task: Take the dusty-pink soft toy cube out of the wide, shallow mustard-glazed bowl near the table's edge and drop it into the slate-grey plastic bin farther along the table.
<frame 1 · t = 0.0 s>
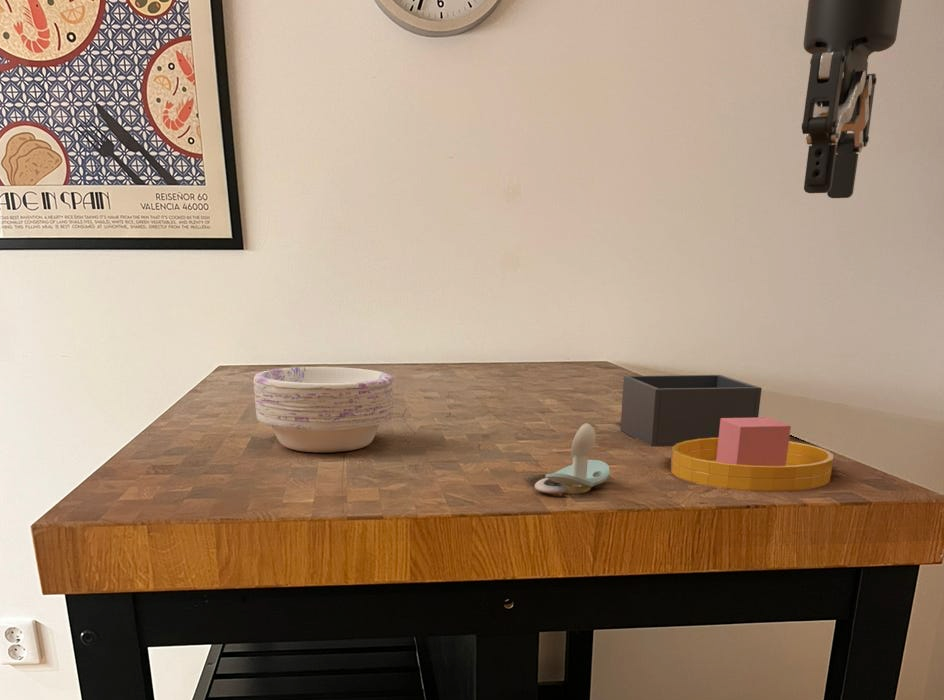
hand: (828, 195, 87), 25 cm above the table, tool pointing down, fingers open, 8 cm apart
grey bin: (684, 438, 114), on the table
toy cube: (749, 473, 94), resting on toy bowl
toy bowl: (748, 476, 94), on the table
pacifier: (568, 492, 88), on the table
paper bowls: (327, 447, 108), on the table
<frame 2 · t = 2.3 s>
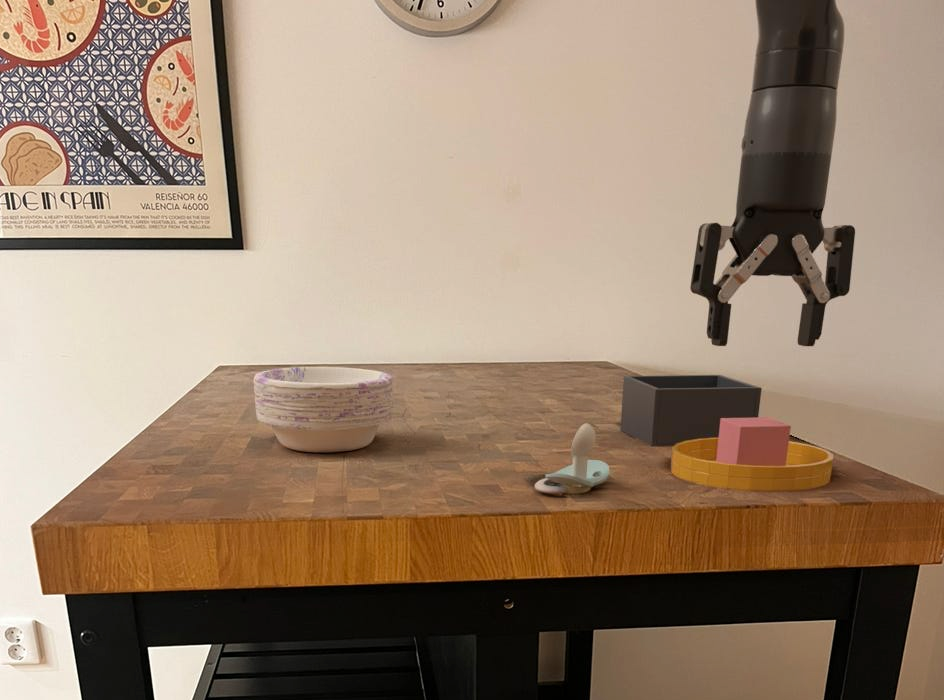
hand: (762, 345, 90), 12 cm above the table, tool pointing down, fingers open, 8 cm apart
nothing on the table moved.
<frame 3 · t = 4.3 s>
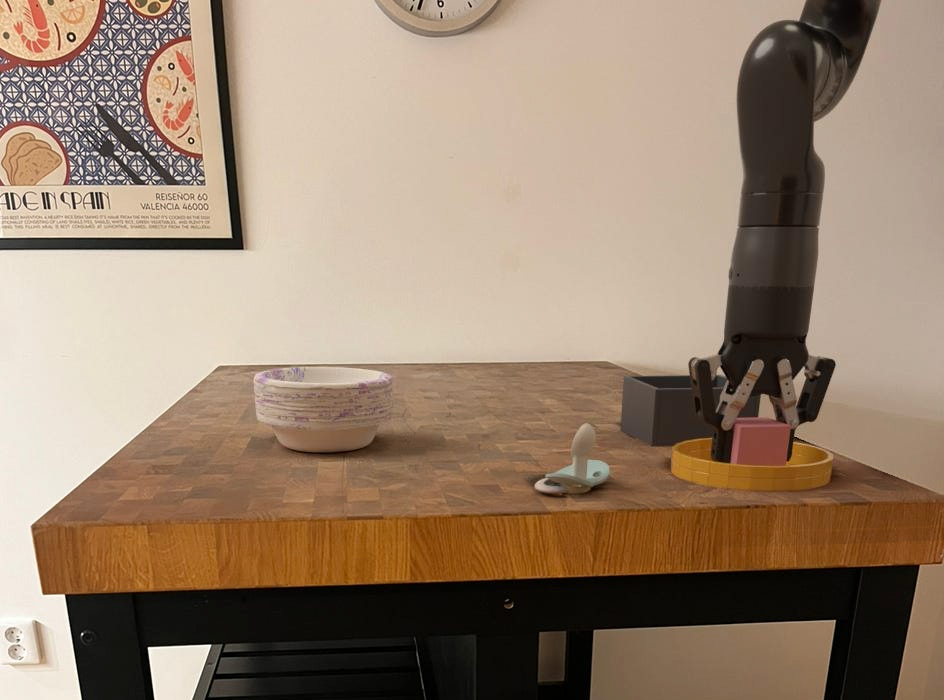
hand: (750, 466, 94), 1 cm above the table, tool pointing down, fingers closed on toy cube, 5 cm apart
toy cube: (749, 473, 94), resting on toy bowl, touching gripper
everything else where it was.
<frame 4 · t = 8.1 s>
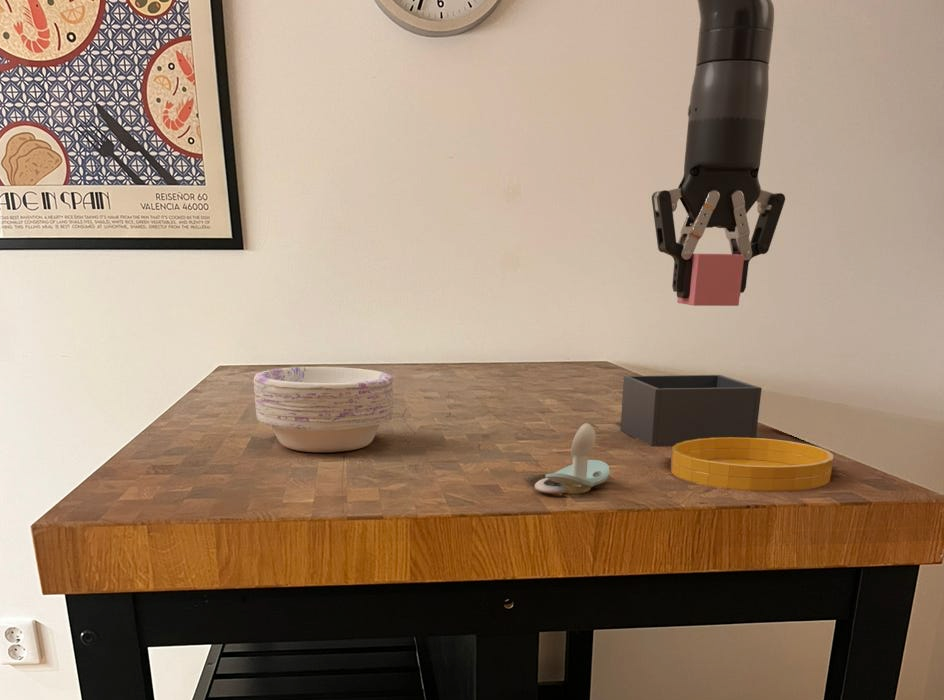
hand: (708, 297, 103), 16 cm above the table, tool pointing down, fingers closed on toy cube, 5 cm apart
toy cube: (707, 304, 103), point 15 cm above the table, touching gripper
everything else where it was.
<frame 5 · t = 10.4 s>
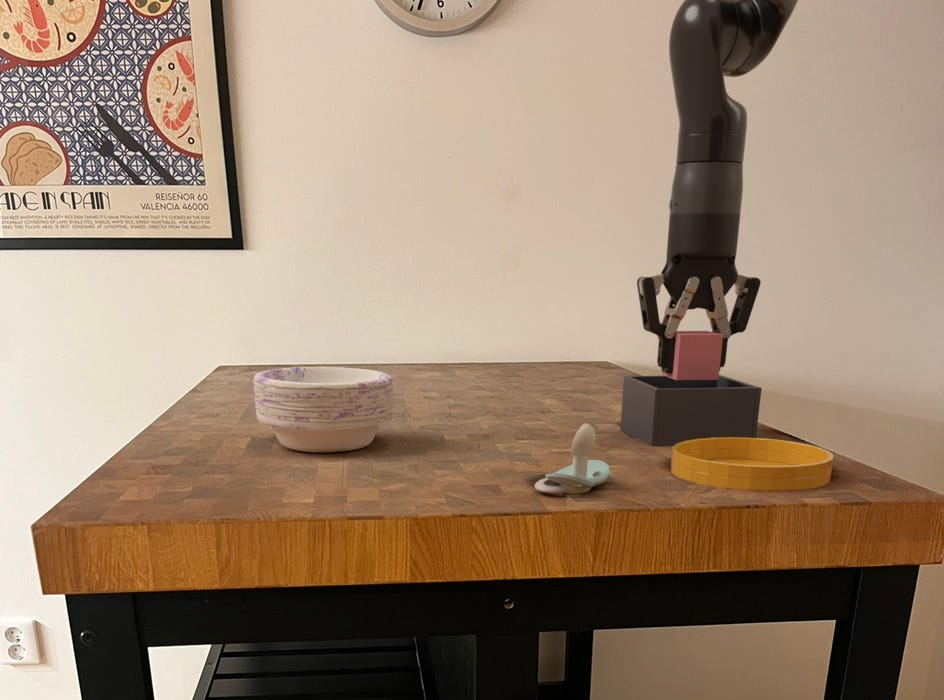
hand: (690, 371, 111), 8 cm above the table, tool pointing down, fingers closed on toy cube, 5 cm apart
toy cube: (689, 377, 111), point 7 cm above the table, touching gripper
everything else where it was.
when the fingers open (4 cm above the table, at t = 12.0 s): toy cube drops 3 cm, resting on grey bin.
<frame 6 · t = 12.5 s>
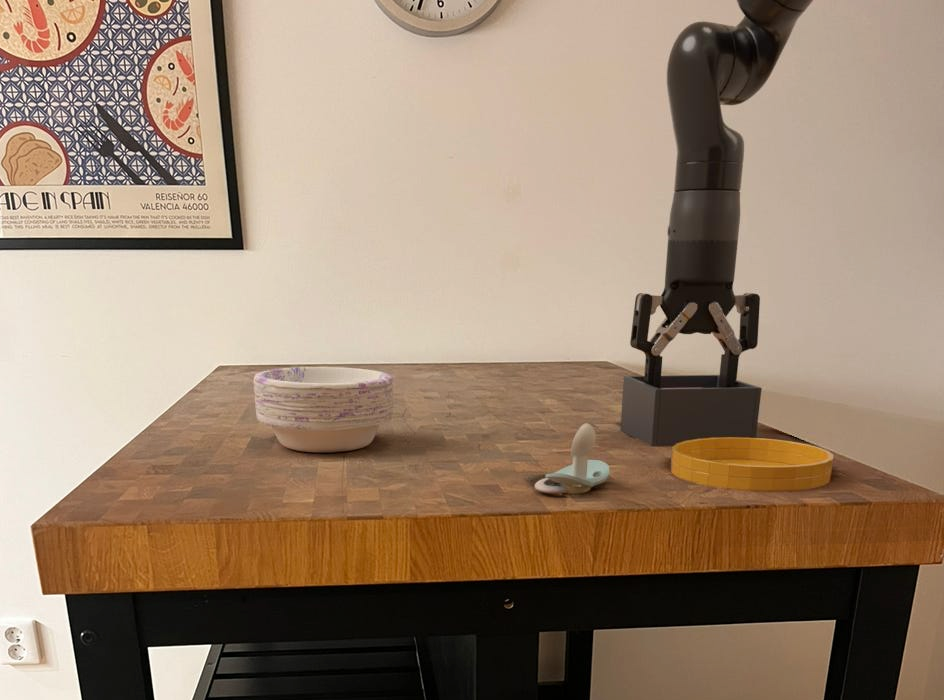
hand: (689, 388, 111), 6 cm above the table, tool pointing down, fingers open, 8 cm apart
toy cube: (684, 433, 113), resting on grey bin
everything else where it was.
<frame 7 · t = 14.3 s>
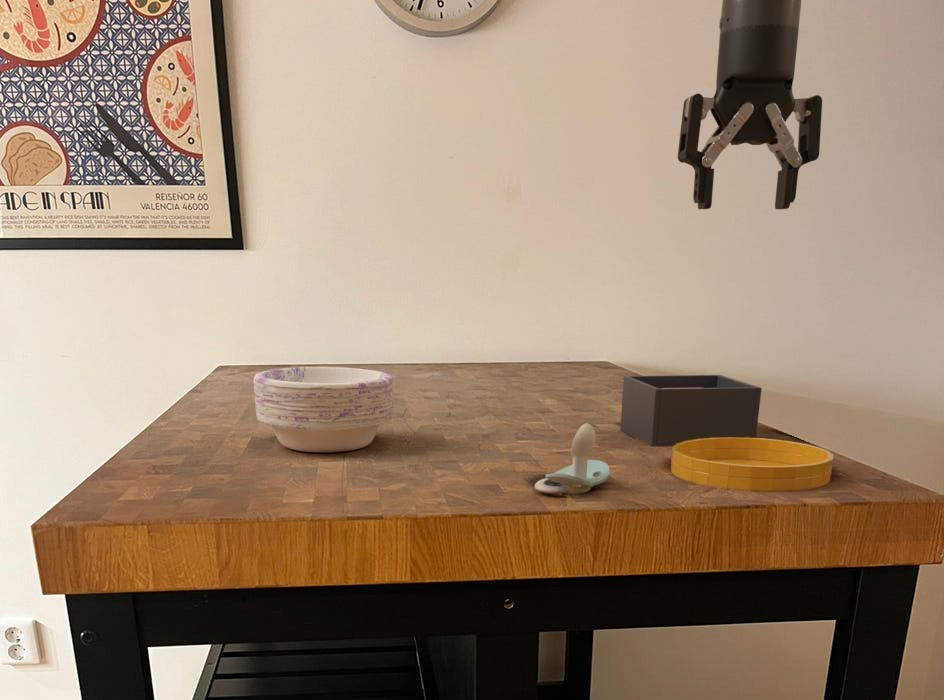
hand: (743, 209, 101), 25 cm above the table, tool pointing down, fingers open, 8 cm apart
nothing on the table moved.
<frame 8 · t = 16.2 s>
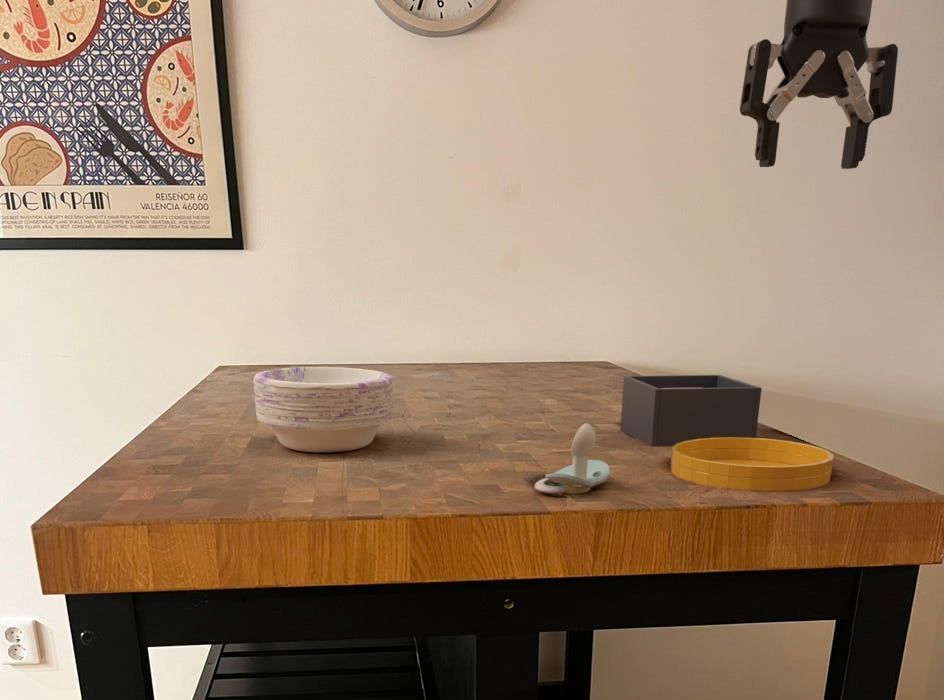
hand: (808, 167, 94), 28 cm above the table, tool pointing down, fingers open, 8 cm apart
nothing on the table moved.
at the end: toy cube inside the target area in the grey bin (0.0 cm from its centre), point 0.5 cm above the grey bin's base; the gripper is holding nothing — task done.
